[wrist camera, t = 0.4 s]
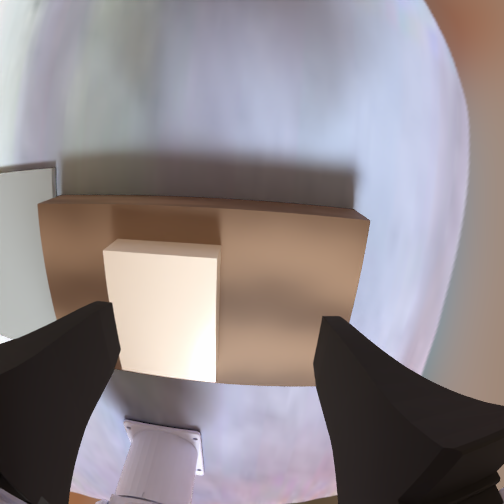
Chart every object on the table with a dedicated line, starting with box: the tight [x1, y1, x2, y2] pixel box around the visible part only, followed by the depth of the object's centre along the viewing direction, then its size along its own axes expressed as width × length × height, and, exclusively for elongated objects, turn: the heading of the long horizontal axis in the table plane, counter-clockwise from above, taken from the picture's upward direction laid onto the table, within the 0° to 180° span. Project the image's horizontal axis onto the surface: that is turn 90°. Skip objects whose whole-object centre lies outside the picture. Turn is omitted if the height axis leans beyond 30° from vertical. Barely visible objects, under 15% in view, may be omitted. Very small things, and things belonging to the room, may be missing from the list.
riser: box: [37, 195, 370, 386], centre depth 19 cm, size 12×20×3 cm, turn 86°
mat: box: [0, 168, 57, 339], centre depth 20 cm, size 16×11×1 cm
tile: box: [103, 239, 221, 382], centre depth 17 cm, size 8×6×2 cm
